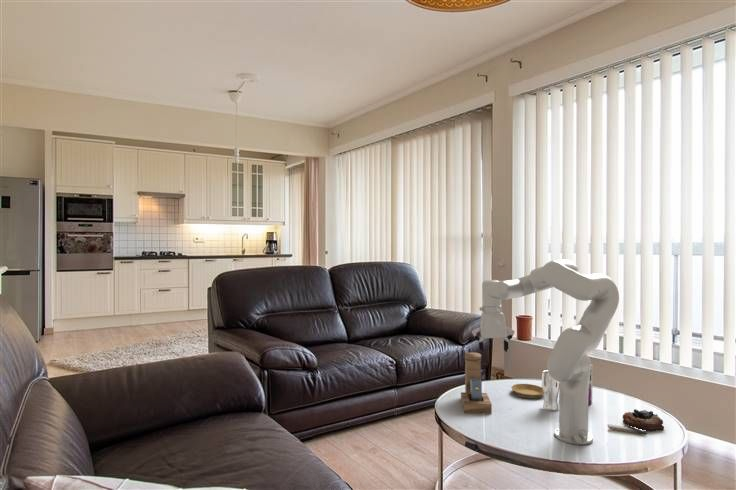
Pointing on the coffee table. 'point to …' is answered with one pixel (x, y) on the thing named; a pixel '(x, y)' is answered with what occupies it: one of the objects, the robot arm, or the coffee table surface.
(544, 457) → the coffee table surface
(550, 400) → the white vase
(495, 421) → the coffee table surface
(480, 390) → the grey box with cap
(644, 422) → the pastry
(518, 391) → the plant saucer
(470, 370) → the wooden square frame
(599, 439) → the coffee table surface
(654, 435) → the coffee table surface
